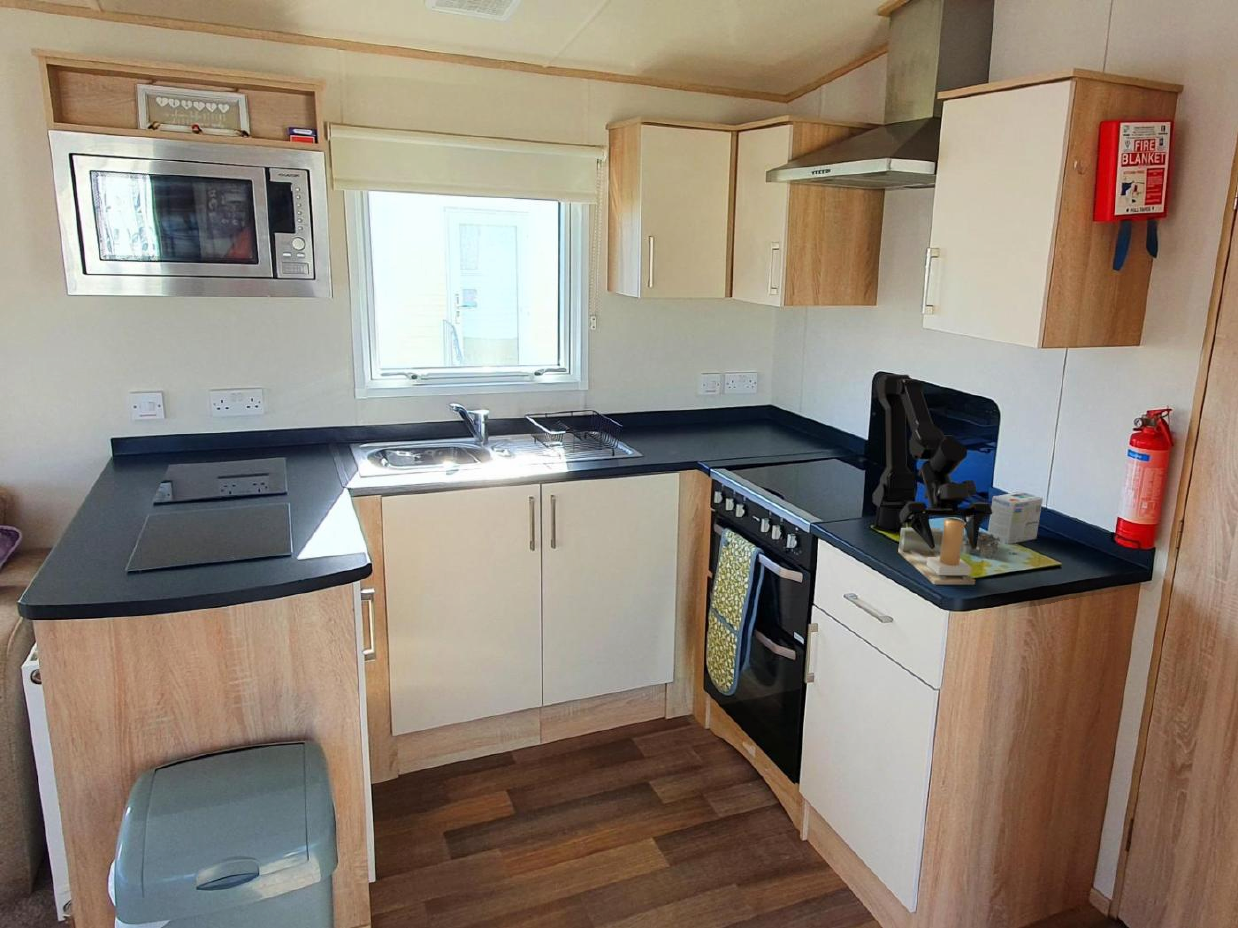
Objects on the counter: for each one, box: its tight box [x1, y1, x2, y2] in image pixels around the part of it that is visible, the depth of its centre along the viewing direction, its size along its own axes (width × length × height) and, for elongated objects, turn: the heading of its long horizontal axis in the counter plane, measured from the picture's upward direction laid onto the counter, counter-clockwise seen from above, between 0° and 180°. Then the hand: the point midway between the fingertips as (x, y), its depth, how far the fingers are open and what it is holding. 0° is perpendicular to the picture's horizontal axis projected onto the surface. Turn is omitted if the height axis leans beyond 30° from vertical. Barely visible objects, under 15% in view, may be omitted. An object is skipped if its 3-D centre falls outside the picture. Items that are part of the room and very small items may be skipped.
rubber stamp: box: [927, 517, 972, 576], centre depth 184 cm, size 6×7×11 cm
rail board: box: [897, 527, 976, 585], centre depth 192 cm, size 20×9×6 cm, turn 4°
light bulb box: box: [987, 491, 1043, 545], centre depth 213 cm, size 11×7×11 cm, turn 118°
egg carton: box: [961, 531, 1001, 558], centre depth 204 cm, size 11×8×4 cm
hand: (954, 548), depth 183 cm, fingers open, 9 cm apart
